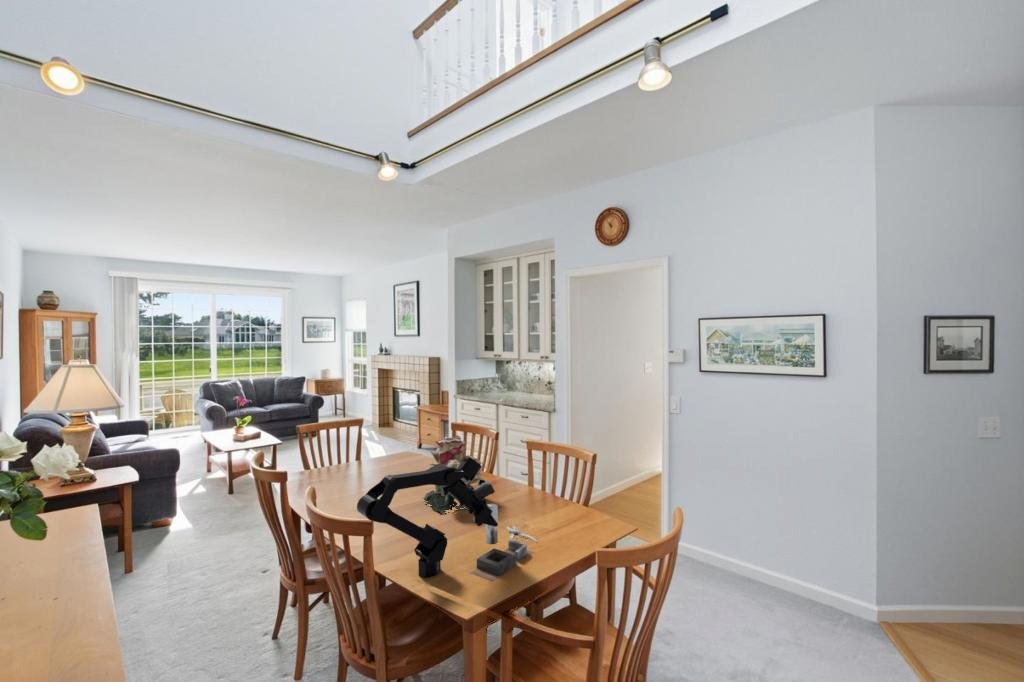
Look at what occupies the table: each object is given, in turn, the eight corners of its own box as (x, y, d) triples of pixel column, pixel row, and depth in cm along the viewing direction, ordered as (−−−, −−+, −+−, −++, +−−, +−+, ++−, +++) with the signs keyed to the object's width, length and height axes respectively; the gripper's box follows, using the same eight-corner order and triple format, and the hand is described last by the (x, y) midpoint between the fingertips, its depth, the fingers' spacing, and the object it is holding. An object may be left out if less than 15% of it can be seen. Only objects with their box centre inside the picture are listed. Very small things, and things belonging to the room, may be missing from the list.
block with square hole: (492, 586, 141) (492, 571, 141) (469, 577, 146) (469, 563, 146) (533, 556, 160) (533, 543, 160) (512, 549, 165) (512, 537, 165)
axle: (492, 545, 154) (492, 508, 154) (483, 542, 156) (483, 506, 156) (500, 541, 157) (500, 505, 157) (490, 538, 159) (490, 502, 159)
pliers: (513, 543, 167) (498, 528, 181) (513, 548, 167) (498, 532, 181) (538, 539, 171) (521, 524, 185) (538, 543, 171) (521, 528, 185)
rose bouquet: (446, 518, 194) (445, 446, 194) (415, 499, 218) (415, 435, 218) (497, 505, 210) (496, 438, 209) (463, 488, 233) (463, 428, 233)
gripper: (485, 482, 146) (519, 514, 149) (474, 466, 164) (505, 495, 167) (460, 510, 144) (495, 542, 147) (452, 491, 162) (483, 519, 165)
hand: (495, 523), depth 157 cm, fingers closed on axle, 4 cm apart
